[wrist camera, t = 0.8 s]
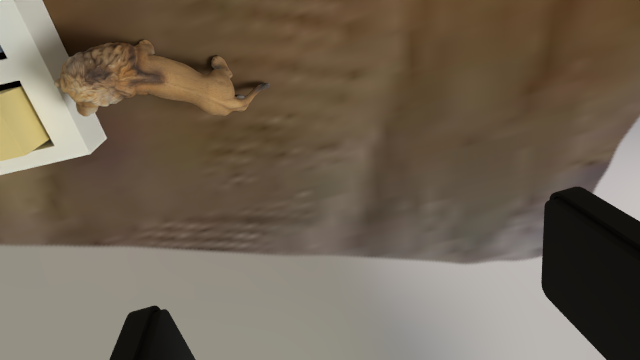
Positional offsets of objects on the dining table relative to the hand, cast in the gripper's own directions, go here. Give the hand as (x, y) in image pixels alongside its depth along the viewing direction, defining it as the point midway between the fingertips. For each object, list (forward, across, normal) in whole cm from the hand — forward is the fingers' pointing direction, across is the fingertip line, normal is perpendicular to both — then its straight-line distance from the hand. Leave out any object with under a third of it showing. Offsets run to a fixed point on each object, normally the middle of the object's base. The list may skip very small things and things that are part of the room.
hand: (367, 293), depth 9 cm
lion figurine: (+30, +9, -2) cm, 31 cm away
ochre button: (+26, +22, -3) cm, 35 cm away
